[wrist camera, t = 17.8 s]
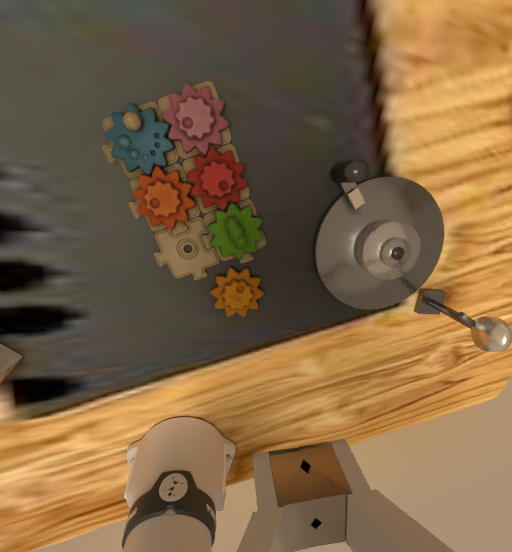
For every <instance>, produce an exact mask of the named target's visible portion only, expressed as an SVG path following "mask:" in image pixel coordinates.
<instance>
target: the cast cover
mask: <svg viewBox="0 0 512 552" xmlns="http://www.w3.org/2000/svg"><path fill="white" fill-rule="evenodd" d="M353 252H354V258H355V260H356V262H357V264H358V265H359V266H360V267H361V268H362V269H364V270H365V271H367V272H369V273H371V274H372V275H374V276H376V277H378V278H381V279H386V280H390V279H395V278H398V277H401V276H402V275H404V274H406V273H407V272H408V271H409V270H410V269H411V268H412V267H413V266H414V264H415V263H416V261H417V259H418V256H419V253H420V239H419V236H418V234H417V232H416V231H415V229H414V228H413V227H411V226H410V225H408V224H405V223H402V222H396V221H391V220H376V221H373V222H371V223H369V224H368V225H366V226H365V227H364V228H363V229H362V230H361V231H360V232H359V234H358V236H357V237H356V240H355V243H354V248H353Z"/></svg>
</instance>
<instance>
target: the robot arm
mask: <svg viewBox="0 0 512 552" xmlns="http://www.w3.org/2000/svg"><path fill="white" fill-rule="evenodd" d="M235 451H236V446H235V444H234V443H233V442H231V441H229V440H227V439H225V438H224V437H222V435H221V434H220V433H219V432H218V430H217V429H216V428H215V427H213V426H212V425H211V424H209V423H207V422H205V421H203V420H200V419H197V418H191V417H178V418H172V419H168V420H166V421H163V422H161V423H159V424H157V425H156V426H154V427H153V428H152V429H150V430H149V431H148V432H147V434H146V435H145V436H144V437H143V438H142V439H141V440H139V441H137V442H135V443H134V444H132V445H130V446H129V447H128V448H127V452H126V457H127V461H128V464H129V467H130V470H131V471H130V475H129V479H128V482H127V486H126V490H125V495H124V497H125V499H126V500H127V504H128V506H129V508H130V513H129V516H128V519H127V521H126V525H125V528H124V536H123V540H122V548H123V552H211V547H212V546H213V543H214V539H215V531H216V510H218V511H222V510H223V508H224V499H225V495H226V489H225V485H226V477H227V475H228V472H229V469H230V466H231V463H232V461H233V458H234V455H235ZM252 459H253V469H254V478H255V487H256V496H257V505H258V511H256V512H253V514H252V517H251V519H250V521H249V524H248V526H247V529H246V531H245V534H244V536H243V538H242V541H241V543H240V546H239V548H238V550H237V552H293V551H298V550H302V549H306V548H310V547H315V546H321V545H327V544H332V543H339V542H345V541H346V544H347V545H348V546H349V547H350V548H351V550H352V551H353V552H454V551H453V550H452V549H451V548H449V547H448V546H447V545H446V544H444V543H443V542H442V541H440V540H439V539H438V538H437V537H435V536H434V535H433V534H432V533H430V532H429V531H428V530H427V529H425V528H424V527H423V526H422V525H420V524H419V523H418V522H416V521H415V520H414V519H413V518H411V517H410V516H409V515H407V514H406V513H405V512H404V511H402V510H401V509H400V508H399V507H397V506H396V505H395V504H394V503H392V502H391V501H390V500H388V499H387V498H386V497H385V496H384V495H382V494H381V493H380V492H379V491H377V490H371V489H370V487H369V485H368V483H367V481H366V479H365V477H364V475H363V473H362V471H361V469H360V467H359V466H358V463H357V461H356V459H355V457H354V455H353V453H352V451H351V449H350V447H349V445H348V443H347V442H346V441H345V440H344V439H342V440H336V441H330V442H322V443H317V444H311V445H306V446H300V447H298V448H291V449H284V450H276V451H269V452H263V453H256V454H252Z"/></svg>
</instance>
